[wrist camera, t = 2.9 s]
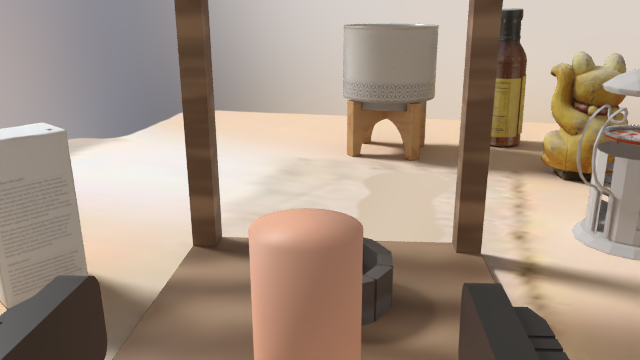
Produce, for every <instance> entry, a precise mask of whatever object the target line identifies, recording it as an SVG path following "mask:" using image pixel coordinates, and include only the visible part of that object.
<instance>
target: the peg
mask: <svg viewBox="0 0 640 360" xmlns="http://www.w3.org/2000/svg"><path fill="white" fill-rule="evenodd" d="M248 232H249V254H250V277H251V299H252V322H253V345H254V360H361V315H362V265H363V226H362V225H361V223H360V222H359V221H358V220H357V219H355V218H354V217H352V216H349V215H347V214H344V213H341V212H337V211H332V210H325V209H308V208H306V209H291V210H284V211H278V212H274V213H271V214H268V215H265V216H263V217H260V218H259V219H257V220H255V221H254V222H253V223H252V224H251V225H250V227H249V231H248Z"/></svg>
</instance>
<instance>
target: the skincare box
mask: <svg viewBox="0 0 640 360" xmlns="http://www.w3.org/2000/svg"><path fill="white" fill-rule="evenodd" d="M59 275H70V276H88V272H87V265H86V258H85V252H84V245H83V239H82V233H81V226H80V219H79V212H78V206H77V199H76V193H75V187H74V180H73V173H72V167H71V160H70V155H69V147H68V140H67V133H66V131H65V130H63V129H60V128H58V127H55V126H52V125H49V124H46V123H36V124H30V125H24V126H19V127H11V128H4V129H0V301H1V302H2V303H3V305H4V306H5V307H6V308H8V309H9V308H11V307H13V306H15V305H17V304H19V303H21V302H23V301H25V300H27V299H29V298H31V297H33V296H34V295H35V294H37V293H38V292H39V291H40V290H41V289H43V288H44V287H45V286H46V285H47V284H48V283H50V282H51V281H52V280H53V279H54V278H55V277H57V276H59Z"/></svg>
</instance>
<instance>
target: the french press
mask: <svg viewBox="0 0 640 360" xmlns="http://www.w3.org/2000/svg"><path fill="white" fill-rule="evenodd" d="M602 85H603V87H604V89H605V90H606V91H608V92H611V93H616V94H620V95H628V96H636V97H640V69H635V70H632V71H629V72H626V73H623V74H620V75H617V76H616V77H614V78H612V79H610V80H609V81H607V82H605V83H604V84H602ZM606 107H607V108H608V120H607V121H606V123H605V124H604V125H603V127H602V128H601V130H600V131H599V134H598V136H597V139H596V142H595V144H594V149H593V156H592V178H591V183H589V182H587V180H586V179H585V178H584V177H583V175H582V170H581V165H580V155H581V144H582V140H583V137H584V134H585V132H586V130H587V128H588V126H589V124H590V122H591V121H592V120H593V118H594V117H595V116H596V114H597V113H598V112H600V111H601V110H603V109H604V108H606ZM621 111H625V113H624V118H623V120H622V121H618V120H613V119H612V118H613V117H614V116H615V115H617V114H618V113H620V112H621ZM627 115H628V111H627V108H620V109H619V110H617V111H616V112H615V113H613V114H612V115H611V106H610V105H607V104H606V105H604V106H603V107H601V108H600V109H598V110H597V111H595V112H594V114H593V115H592V116H591V117H590V118H589V120H588V121H587V123H586V125H585V127H584V129H583V132H582V134H581V136H580V139H579V143H578V151H577V168H578V171H579V175H580V177H581V178H582V180H583V181H584V183H585V184H587V185H588V186H590V192H589V198H588V205H587V212H586V219H583V220H582V221H580V222H579V223H577V224H576V225H575V226H574V228H573V229H572V232H573V234H574V236H575V238H577V239H578V240H580V241H581V242H583V243H584V244H586V245H587V246H589V247H592V248H594V249H597V250H599V251H602V252H605V253H607V254H611V255H615V256H620V257H624V258H629V259H633V260H640V126H639V125H637V126H636V125H633V126H632V125H628V126H627V125H614V126H608V127H607V128H606V126H607V125H608V124H609V122H610V121H611V122H612V123H617V124H623V123H625V121H626V119H627ZM619 126H620V127H619ZM638 126H639V127H638ZM602 134H603V135H604V136H605V137H606V138H608V139H610V140H612V141H609V142H603V143H600V144H598V143H599V141H600V138H601V136H602ZM608 154H609V155H611V156H613V157H615V162H614V164H612V163H610V162H608V161H607V158H608ZM606 168H607V169H609V170H611V171H613V175H612V177H610V176H608V175H606V174H605V171H606ZM604 181H605V182H607V183H609V184H611V188H610V190H609V189H607V188H604V187H603V184H604ZM602 194H604V195H606V196H608V197H609V201H608V202H606V201H604V200H601V197H602Z"/></svg>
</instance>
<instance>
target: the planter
mask: <svg viewBox="0 0 640 360" xmlns="http://www.w3.org/2000/svg"><path fill="white" fill-rule="evenodd" d="M437 42H438V25H430V24H353V25H344V70H343V72H344V73H343V74H344V75H343V78H344V80H343V96H344V97H345V98H347V99H350V100H349V101H348V115H347V155H350V156H352V157H354V156H360V150H361V146H362V143H370V142H371V134H372V130H373V128H374V125H375V124H376V123H377V122H379V121H381V120H383V119H389V120H390V121H392V122H393V123H394V124H395V126H396V127H397V129H398V130H399V132H400V134H401V137H402V140H403V144H404V150H405V159H408V160H416V159H419V146H424V139H425V119H426V101H428V100H431V99H433V98H434V96H435V77H436V58H437Z"/></svg>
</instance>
